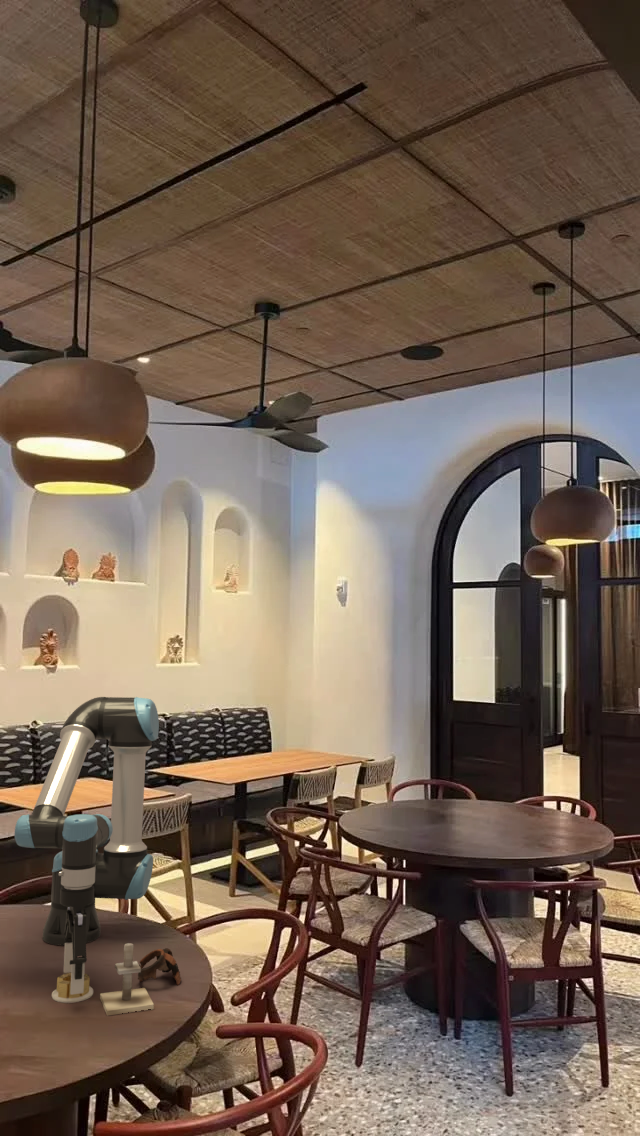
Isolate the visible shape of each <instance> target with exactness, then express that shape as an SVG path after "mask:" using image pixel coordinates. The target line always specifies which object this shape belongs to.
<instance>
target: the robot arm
mask: <svg viewBox="0 0 640 1136" xmlns="http://www.w3.org/2000/svg"><path fill="white" fill-rule="evenodd" d="M159 730H160V722H159V714H158V708H157V705H156V703H155V702H154V700H152V699H151V698H145V697H137V696H136V697H135V696H134V697H123V696H122V697H118V696H117V697H115V696H114V697H112V696H111V697H110V696H99V697H98V696H97V697H94V698H91V699H89V700H87V701H85V702H84V703H82V704H81V705H78V707H76V708H75V709H74V710H73V712H72V713H71V714H70V715H69V716H68V717H67V719H66V720H65V721H64V723H63V726H62V727H61V730H60V733H59V738H60V742H59V746H58V748H57V749H56V753H55V755H54V758H53V760H52V763H51V765H50V767H49V770H48V772H47V776H46V777H45V780H44V783H43V785H42V787H41V790H40V792H39V795H38V798H37V800H36V803H35V805H34V808H33V809H32V810H33V811H32V812H31V814H30V813H29V814H23V815H21V816H20V817H18V819H17V820H16V824H15V828H14V840H15V843H16V845H17V846H19V847H22V848H28V849H29V848H31V849H36V848H37V849H39V848H40V849H62V850H61V851H59V852H58V853H56V854H55V856H54V858H53V861H52V862H53V863H52V864H53V865H52V869H51V874H52V875H51V876H52V877H51V895H50V897H51V899H50V900H51V901H50V910H49V913H48V916H47V918H46V922H44V923H45V924H44V926H43V929H42V940H43V941H44V943H47V944H50V945H54V946H55V945H56V946H64V950H63V951H64V953H63V974H66V973H71V989H70V994H71V995H72V994H80V993H83V991H84V973H85V967H86V966H85V965H86V964H85V963H87V960H88V958H87V944H88V943H91V942H93V941H96V940H97V939H98V938H100V936H101V923H100V919H99V916H98V912H97V908H96V899H111V900H126V901H128V900H139V899H142V897H144V896H145V895H146V894H147V890H148V888H149V885H150V882H151V879H152V873H153V867H154V857H153V855H152V854H150V853H148V845H146V844H145V842H143V840H142V839H143V822H144V797H145V796H144V795H145V777H146V775H145V774H146V773H145V772H146V753H147V752H148V751H149V750H150V749H151V748H152V746H153V745H152V743H153V742H154V741H156V740H157V739H158V737H159ZM97 740H109V741H108V747H109V748H110V749H111V751H112V752H113V769H112V770H113V773H112V791H111V792H112V794H111V811H110V813H111V814H110V817H108V816H106V815H105V814H102V813H96V814H85V813H84V814H82V813H81V814H73V815H68V816H67V815H65V814H66V811H67V808H68V805H69V802H70V800H71V797H72V794H73V792H74V789H75V786H76V784H77V781H78V778H79V776H80V774H81V773H80V772H81V769H82V767H83V764H84V762H85V759H86V757H87V753H88V751H89V750H90V749H91V748H93V746H94V745H95V743H96V741H97ZM107 842H108V843H107ZM106 843H107V844H106ZM103 846H104V847H103ZM101 847H103V853H102V852H99V850H98V849H100V848H101Z"/></svg>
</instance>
